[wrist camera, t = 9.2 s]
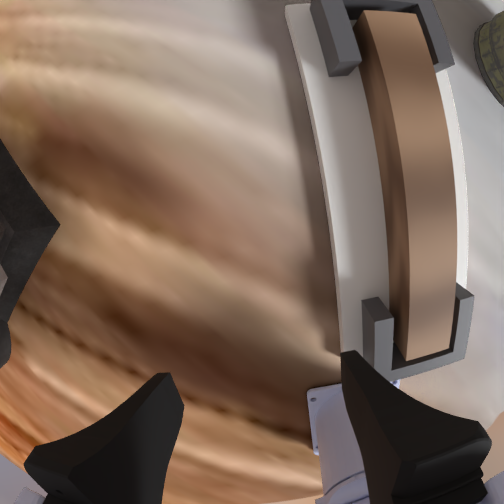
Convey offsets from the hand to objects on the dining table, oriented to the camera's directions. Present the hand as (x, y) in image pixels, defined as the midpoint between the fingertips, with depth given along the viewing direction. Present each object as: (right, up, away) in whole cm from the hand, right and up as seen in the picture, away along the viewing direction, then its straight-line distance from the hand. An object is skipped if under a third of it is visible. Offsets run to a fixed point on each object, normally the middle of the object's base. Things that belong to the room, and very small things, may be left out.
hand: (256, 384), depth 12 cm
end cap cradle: (+9, +10, +6) cm, 15 cm away
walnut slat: (+9, +9, +5) cm, 14 cm away
